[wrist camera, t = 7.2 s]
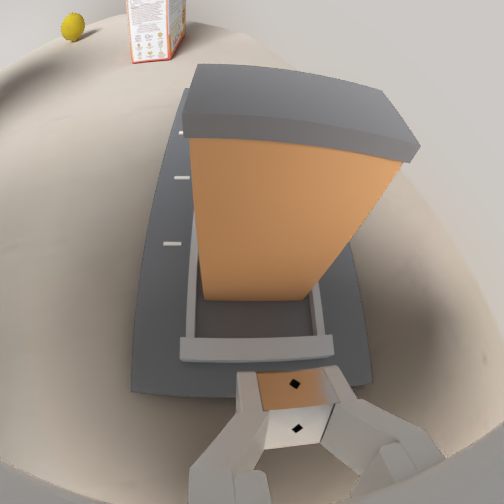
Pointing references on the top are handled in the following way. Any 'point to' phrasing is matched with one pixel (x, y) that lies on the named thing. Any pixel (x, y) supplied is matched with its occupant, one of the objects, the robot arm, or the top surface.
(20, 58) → the top surface
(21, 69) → the top surface
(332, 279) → the grey fader base
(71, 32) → the lemon
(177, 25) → the cracker box
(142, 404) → the top surface
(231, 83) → the fader cap
